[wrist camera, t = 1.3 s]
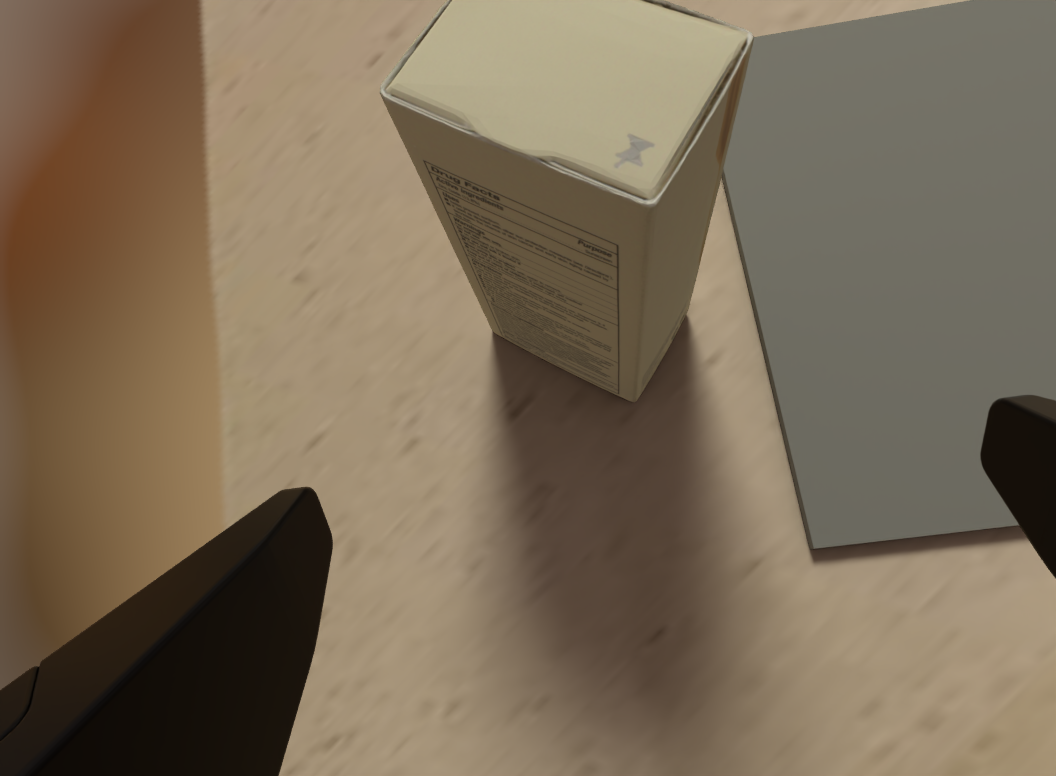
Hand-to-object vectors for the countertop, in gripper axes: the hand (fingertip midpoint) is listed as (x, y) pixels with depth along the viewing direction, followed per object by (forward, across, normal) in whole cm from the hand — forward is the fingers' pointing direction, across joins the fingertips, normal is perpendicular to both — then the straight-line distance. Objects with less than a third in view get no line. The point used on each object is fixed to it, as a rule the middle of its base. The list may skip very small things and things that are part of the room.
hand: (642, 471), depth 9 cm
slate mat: (+16, -13, +3) cm, 21 cm away
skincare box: (+15, 0, +4) cm, 16 cm away
